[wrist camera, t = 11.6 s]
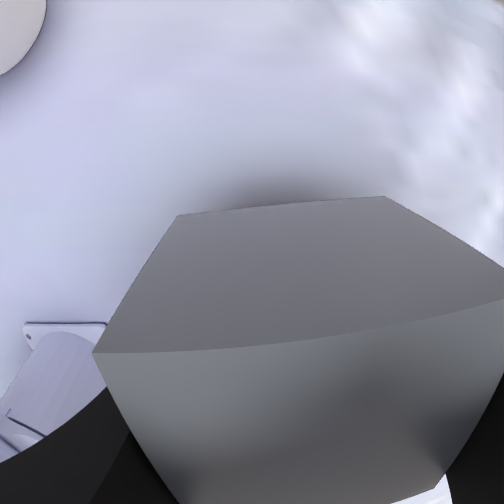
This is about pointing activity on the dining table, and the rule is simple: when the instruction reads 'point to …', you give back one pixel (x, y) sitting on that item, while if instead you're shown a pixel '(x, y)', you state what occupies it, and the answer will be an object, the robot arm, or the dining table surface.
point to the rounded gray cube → (306, 353)
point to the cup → (18, 29)
